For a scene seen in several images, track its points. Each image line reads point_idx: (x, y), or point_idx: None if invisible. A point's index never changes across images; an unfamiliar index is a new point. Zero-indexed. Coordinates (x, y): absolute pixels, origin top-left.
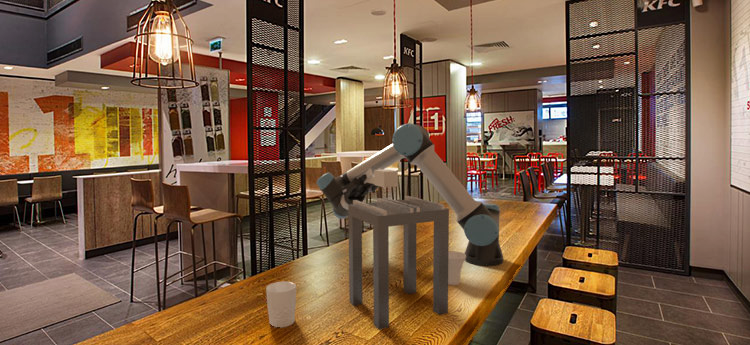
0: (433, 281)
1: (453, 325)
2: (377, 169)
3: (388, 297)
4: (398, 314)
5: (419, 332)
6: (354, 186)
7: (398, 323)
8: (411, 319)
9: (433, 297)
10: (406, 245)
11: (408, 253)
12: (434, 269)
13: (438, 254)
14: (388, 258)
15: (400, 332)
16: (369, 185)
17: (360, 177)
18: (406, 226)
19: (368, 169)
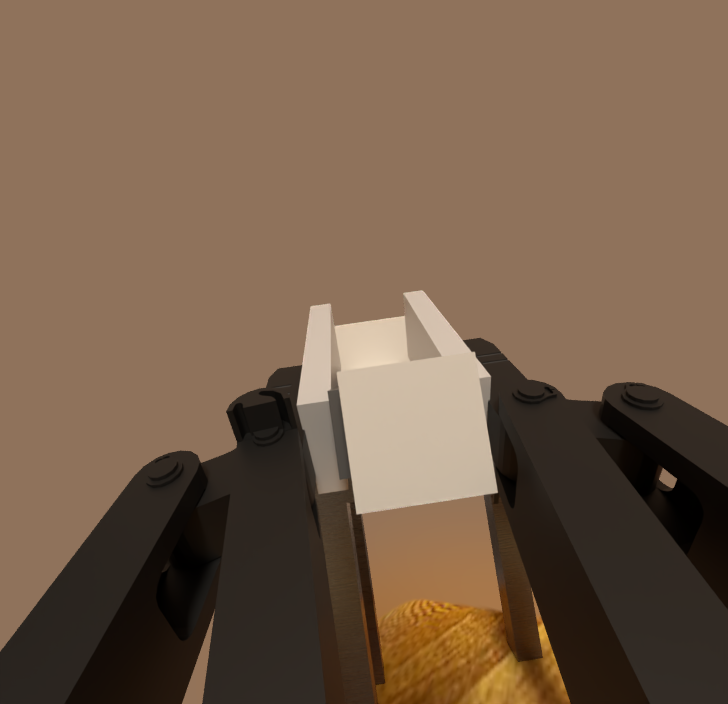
0: (373, 606)
1: (381, 625)
2: (331, 314)
3: (497, 577)
4: (474, 689)
5: (451, 618)
6: (686, 544)
7: (484, 652)
8: (450, 660)
9: (379, 646)
10: (367, 641)
11: (371, 660)
12: (369, 572)
13: (363, 525)
14: (484, 495)
15: (487, 624)
16: (335, 660)
17: (528, 384)
18: (356, 561)
19: (426, 296)
